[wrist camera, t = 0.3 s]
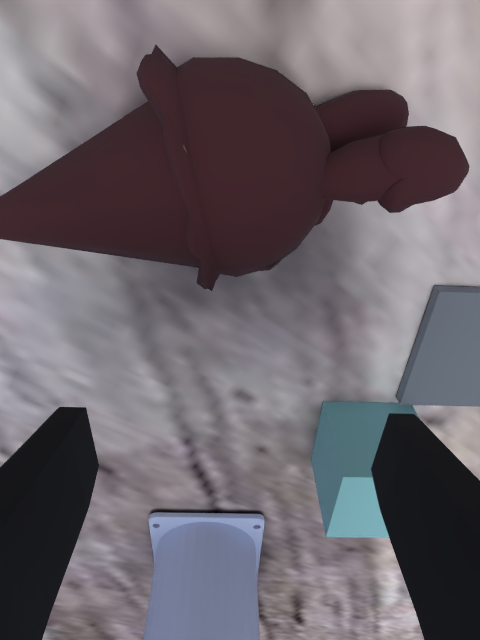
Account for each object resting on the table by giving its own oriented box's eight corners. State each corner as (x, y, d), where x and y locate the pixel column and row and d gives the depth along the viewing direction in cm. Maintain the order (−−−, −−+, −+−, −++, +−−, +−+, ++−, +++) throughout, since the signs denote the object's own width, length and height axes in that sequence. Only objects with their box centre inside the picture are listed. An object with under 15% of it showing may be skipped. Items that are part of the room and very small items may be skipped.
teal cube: (388, 459, 26) (419, 538, 21) (310, 458, 26) (325, 536, 21) (410, 402, 23) (449, 478, 19) (323, 400, 23) (343, 477, 19)
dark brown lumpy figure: (7, 382, 13) (459, 292, 13) (-208, 168, 8) (560, 13, 8) (46, 253, 18) (379, 187, 18) (-70, 64, 13) (407, -32, 13)
